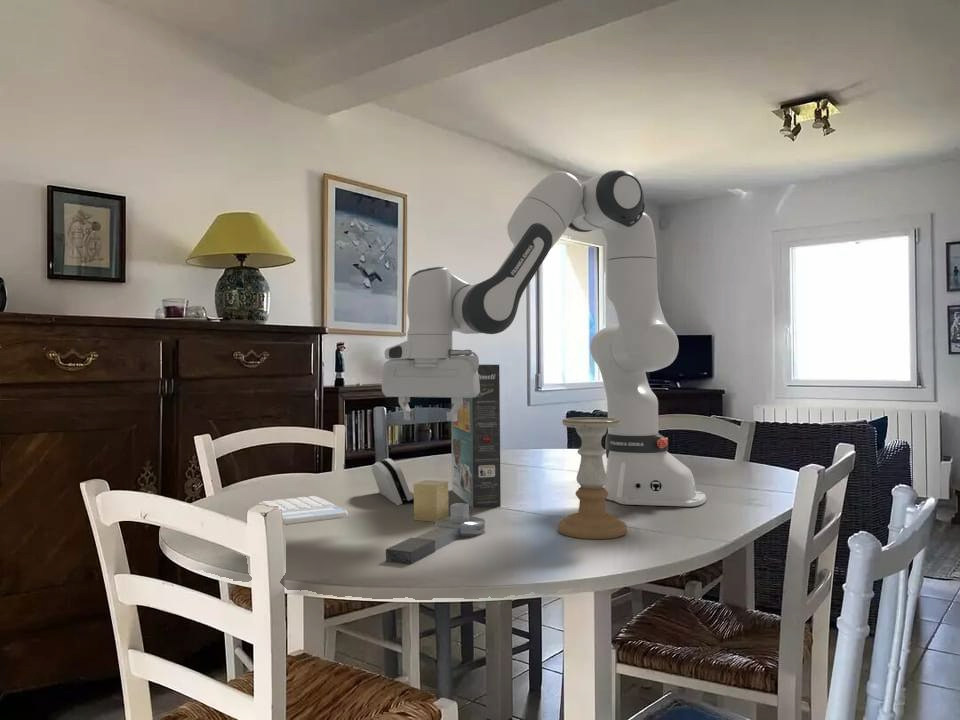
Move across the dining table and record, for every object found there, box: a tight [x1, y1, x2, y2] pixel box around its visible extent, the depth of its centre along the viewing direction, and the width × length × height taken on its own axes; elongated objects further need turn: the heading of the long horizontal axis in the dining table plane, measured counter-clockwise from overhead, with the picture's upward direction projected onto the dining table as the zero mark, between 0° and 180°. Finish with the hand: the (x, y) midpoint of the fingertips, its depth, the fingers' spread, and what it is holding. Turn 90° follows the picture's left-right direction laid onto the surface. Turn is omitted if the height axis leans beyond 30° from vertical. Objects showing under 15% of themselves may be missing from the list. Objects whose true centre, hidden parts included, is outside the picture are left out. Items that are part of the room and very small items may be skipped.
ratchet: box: [385, 502, 486, 566], centre depth 124 cm, size 26×9×5 cm, turn 156°
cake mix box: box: [450, 363, 502, 509], centre depth 165 cm, size 22×6×30 cm, turn 14°
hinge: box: [370, 457, 414, 506], centre depth 166 cm, size 17×5×10 cm, turn 21°
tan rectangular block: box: [413, 479, 450, 523], centre depth 144 cm, size 5×5×7 cm
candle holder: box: [557, 416, 628, 540], centre depth 132 cm, size 12×12×20 cm
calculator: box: [258, 495, 349, 525], centre depth 151 cm, size 13×20×2 cm, turn 31°
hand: (430, 420), depth 144 cm, fingers open, 8 cm apart
